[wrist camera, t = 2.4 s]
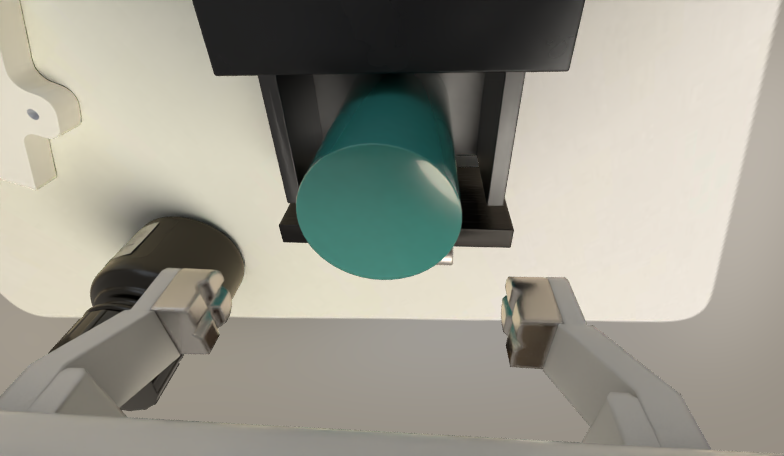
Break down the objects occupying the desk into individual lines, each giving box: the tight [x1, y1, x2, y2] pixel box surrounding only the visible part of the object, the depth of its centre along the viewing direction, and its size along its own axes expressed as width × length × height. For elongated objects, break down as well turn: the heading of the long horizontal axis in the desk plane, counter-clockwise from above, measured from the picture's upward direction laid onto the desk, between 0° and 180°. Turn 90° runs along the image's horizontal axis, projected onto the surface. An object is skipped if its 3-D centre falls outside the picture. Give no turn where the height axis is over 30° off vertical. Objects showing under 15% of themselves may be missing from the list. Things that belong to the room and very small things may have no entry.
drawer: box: [258, 72, 525, 265], centre depth 21 cm, size 19×12×7 cm, turn 2°
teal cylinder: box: [296, 73, 462, 280], centre depth 18 cm, size 6×6×11 cm
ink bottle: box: [48, 217, 244, 411], centre depth 29 cm, size 10×9×12 cm
